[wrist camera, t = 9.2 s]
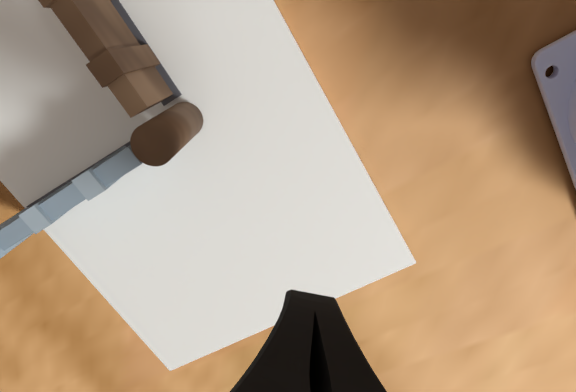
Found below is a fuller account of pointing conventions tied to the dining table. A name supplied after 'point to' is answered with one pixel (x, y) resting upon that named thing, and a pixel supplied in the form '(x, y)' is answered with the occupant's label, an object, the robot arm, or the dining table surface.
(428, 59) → the dining table surface
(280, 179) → the card
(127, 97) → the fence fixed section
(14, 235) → the fence folding panel
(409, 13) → the dining table surface
